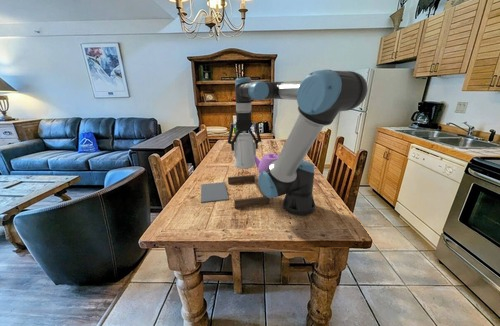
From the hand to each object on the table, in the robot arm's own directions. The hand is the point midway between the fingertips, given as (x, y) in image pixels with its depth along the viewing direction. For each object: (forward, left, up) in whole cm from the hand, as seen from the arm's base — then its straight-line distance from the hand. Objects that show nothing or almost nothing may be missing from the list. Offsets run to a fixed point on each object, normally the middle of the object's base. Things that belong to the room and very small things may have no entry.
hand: (244, 155), depth 113 cm
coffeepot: (0, 0, -6) cm, 6 cm away
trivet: (+5, +17, -21) cm, 28 cm away
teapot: (+24, -20, -22) cm, 38 cm away
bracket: (0, 0, -21) cm, 21 cm away
